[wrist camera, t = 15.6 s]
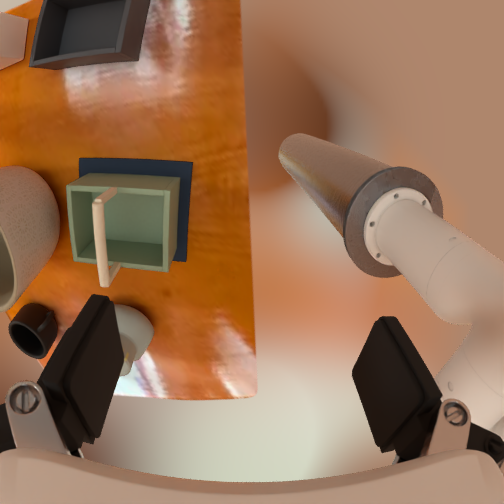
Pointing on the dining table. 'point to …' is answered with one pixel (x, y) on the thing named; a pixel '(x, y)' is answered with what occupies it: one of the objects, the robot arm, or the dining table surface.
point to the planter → (24, 230)
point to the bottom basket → (88, 32)
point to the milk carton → (12, 39)
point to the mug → (33, 330)
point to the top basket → (123, 221)
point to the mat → (152, 169)
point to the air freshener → (132, 334)
